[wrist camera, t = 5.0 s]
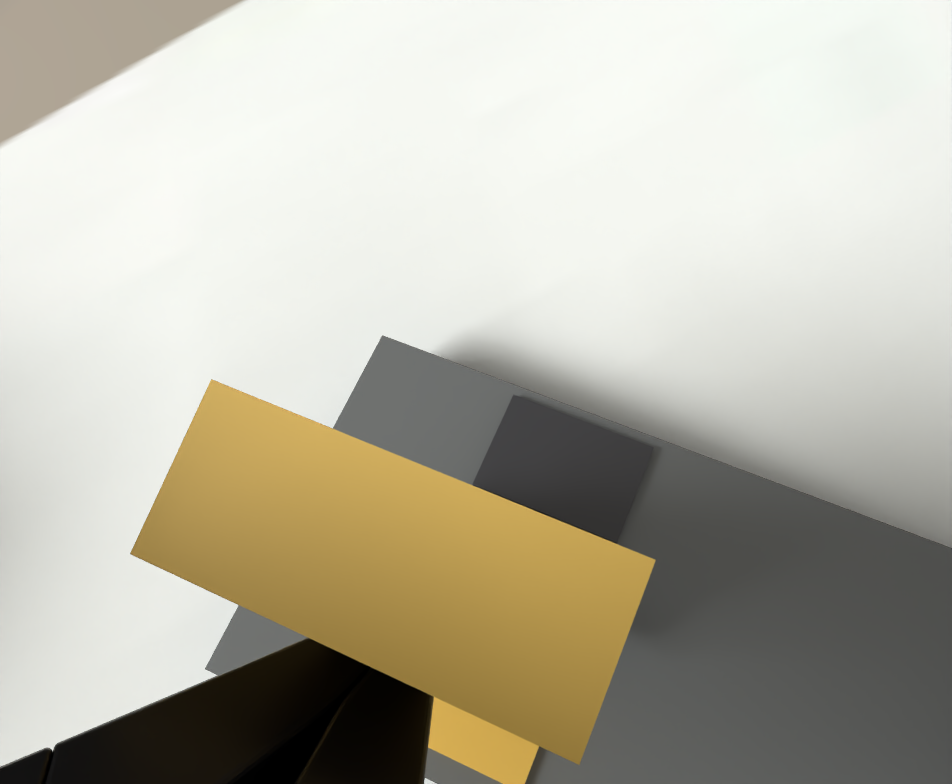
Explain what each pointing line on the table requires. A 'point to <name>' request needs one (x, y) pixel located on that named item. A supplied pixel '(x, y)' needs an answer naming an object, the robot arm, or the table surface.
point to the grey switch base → (682, 600)
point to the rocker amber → (398, 567)
